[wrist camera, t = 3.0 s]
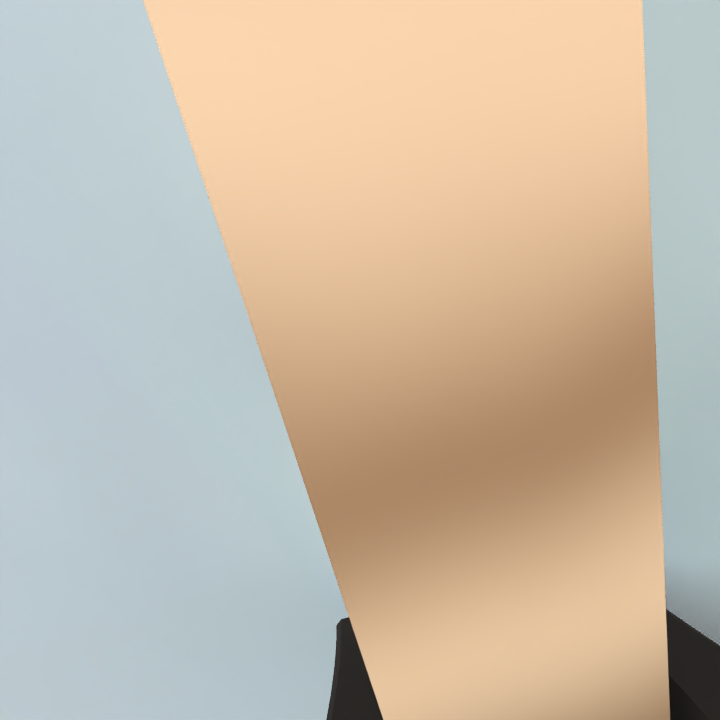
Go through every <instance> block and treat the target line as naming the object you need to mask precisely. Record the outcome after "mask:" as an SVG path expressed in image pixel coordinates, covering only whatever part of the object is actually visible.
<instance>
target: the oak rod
mask: <svg viewBox="0 0 720 720" xmlns="http://www.w3.org/2000/svg"><path fill="white" fill-rule="evenodd" d="M143 2H144V5H145V8H146V11H147V14H148V17H149V20H150V23H151V26H152V29H153V32H154V35H155V38H156V41H157V44H158V47H159V50H160V53H161V56H162V59H163V62H164V65H165V68H166V71H167V74H168V77H169V80H170V83H171V86H172V89H173V92H174V95H175V98H176V101H177V104H178V107H179V109H180V112H181V115H182V118H183V121H184V124H185V127H186V130H187V133H188V136H189V139H190V142H191V145H192V148H193V151H194V154H195V157H196V160H197V163H198V166H199V169H200V172H201V175H202V178H203V181H204V184H205V187H206V190H207V193H208V196H209V199H210V202H211V205H212V208H213V211H214V214H215V217H216V220H217V223H218V226H219V229H220V232H221V235H222V238H223V241H224V244H225V247H226V250H227V253H228V256H229V259H230V262H231V265H232V268H233V271H234V274H235V277H236V280H237V283H238V286H239V289H240V292H241V295H242V298H243V301H244V304H245V307H246V310H247V313H248V316H249V319H250V322H251V325H252V328H253V331H254V334H255V337H256V340H257V343H258V346H259V349H260V352H261V355H262V358H263V361H264V364H265V367H266V370H267V373H268V376H269V379H270V382H271V385H272V388H273V391H274V394H275V397H276V400H277V403H278V406H279V409H280V412H281V415H282V418H283V421H284V424H285V427H286V430H287V433H288V436H289V439H290V442H291V445H292V448H293V451H294V454H295V457H296V460H297V463H298V466H299V469H300V472H301V475H302V478H303V481H304V484H305V487H306V490H307V493H308V496H309V499H310V502H311V505H312V507H313V510H314V513H315V516H316V519H317V522H318V525H319V528H320V531H321V534H322V537H323V540H324V543H325V546H326V549H327V552H328V555H329V558H330V561H331V564H332V567H333V570H334V573H335V576H336V579H337V582H338V585H339V588H340V591H341V594H342V597H343V600H344V603H345V606H346V609H347V612H348V615H349V618H350V621H351V624H352V627H353V630H354V633H355V636H356V639H357V642H358V645H359V648H360V651H361V654H362V657H363V660H364V663H365V666H366V669H367V672H368V675H369V678H370V681H371V684H372V687H373V690H374V693H375V696H376V699H377V702H378V705H379V708H380V711H381V714H382V717H383V720H670V702H669V676H668V651H667V625H666V599H665V574H664V548H663V523H662V497H661V472H660V446H659V420H658V395H657V369H656V344H655V318H654V292H653V267H652V241H651V216H650V190H649V164H648V139H647V113H646V88H645V62H644V36H643V11H642V0H143Z"/></svg>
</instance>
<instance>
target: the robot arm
mask: <svg viewBox="0 0 720 720" xmlns="http://www.w3.org/2000/svg"><path fill="white" fill-rule="evenodd" d="M666 625H667V651H668V676H669V702H670V720H720V646H719V645H718V644H716V643H715V642H713V641H712V640H710V639H709V638H707V637H706V636H704V635H703V634H701V633H700V632H698V631H697V630H696V629H694V628H693V627H691V626H690V625H688V624H687V623H685V622H684V621H683V620H681V619H680V618H678V617H677V616H675V615H674V614H672V613H671V612H670V611H668V610H667V609H666ZM327 720H383V717H382V714H381V711H380V708H379V705H378V702H377V699H376V696H375V693H374V690H373V687H372V684H371V681H370V678H369V675H368V672H367V669H366V666H365V663H364V660H363V657H362V654H361V651H360V648H359V645H358V642H357V639H356V636H355V633H354V630H353V627H352V624H351V621H350V618H349V617H348V618H345V619H341V620H340V622H339V623H338V624H337V641H336V656H335V667H334V675H333V683H332V691H331V697H330V703H329V709H328V714H327Z"/></svg>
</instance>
